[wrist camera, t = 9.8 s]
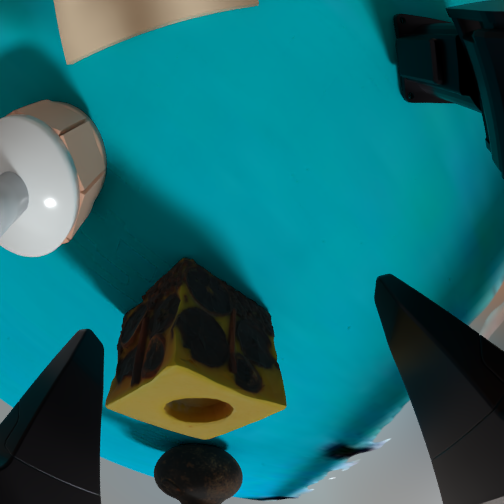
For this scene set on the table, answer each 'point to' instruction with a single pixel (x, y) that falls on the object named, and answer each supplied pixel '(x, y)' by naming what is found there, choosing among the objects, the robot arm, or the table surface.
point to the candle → (196, 357)
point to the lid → (35, 187)
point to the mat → (125, 20)
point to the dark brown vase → (198, 474)
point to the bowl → (75, 149)
